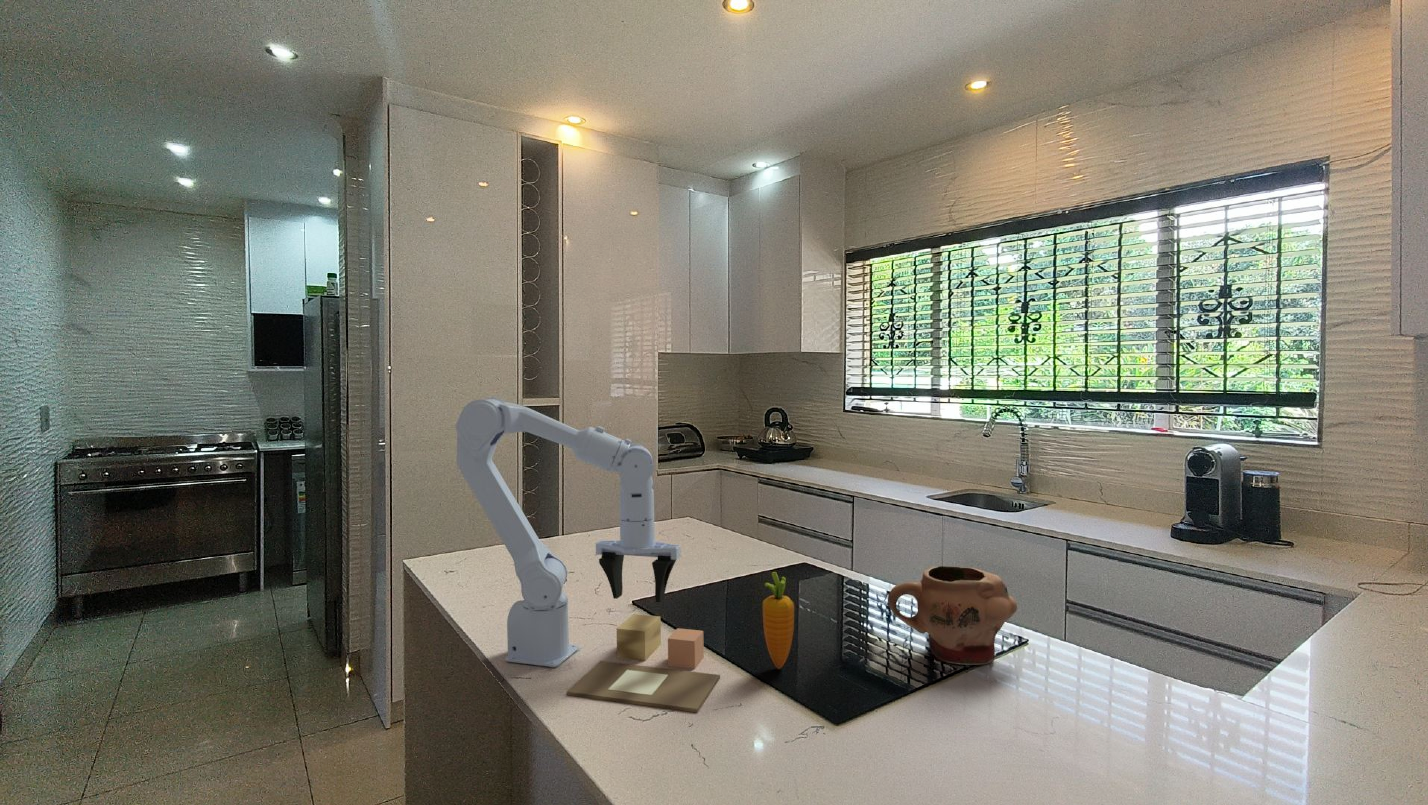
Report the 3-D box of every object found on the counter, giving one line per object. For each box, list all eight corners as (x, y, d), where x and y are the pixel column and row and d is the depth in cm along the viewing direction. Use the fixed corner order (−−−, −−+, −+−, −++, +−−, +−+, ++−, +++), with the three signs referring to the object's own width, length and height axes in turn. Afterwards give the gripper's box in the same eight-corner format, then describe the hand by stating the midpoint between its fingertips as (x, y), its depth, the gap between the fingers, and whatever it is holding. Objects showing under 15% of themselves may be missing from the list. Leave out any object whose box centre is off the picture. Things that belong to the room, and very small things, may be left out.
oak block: (617, 658, 112) (616, 628, 112) (633, 642, 119) (633, 614, 119) (645, 661, 111) (644, 631, 111) (660, 645, 118) (660, 616, 117)
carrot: (793, 677, 104) (792, 579, 103) (761, 674, 105) (759, 578, 104) (796, 663, 109) (795, 570, 108) (765, 661, 110) (764, 569, 109)
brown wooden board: (566, 694, 99) (566, 691, 99) (600, 663, 110) (600, 660, 110) (697, 712, 94) (697, 708, 94) (720, 678, 104) (719, 674, 104)
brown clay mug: (898, 672, 105) (898, 583, 105) (881, 641, 117) (880, 561, 117) (1030, 672, 105) (1030, 582, 104) (998, 641, 117) (998, 560, 116)
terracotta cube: (668, 666, 109) (667, 638, 109) (677, 655, 113) (677, 628, 113) (695, 669, 108) (694, 641, 107) (703, 657, 112) (703, 630, 112)
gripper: (586, 521, 112) (588, 602, 113) (669, 525, 108) (671, 610, 109) (605, 512, 119) (607, 589, 120) (684, 516, 115) (685, 596, 115)
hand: (638, 598), depth 115 cm, fingers open, 7 cm apart
